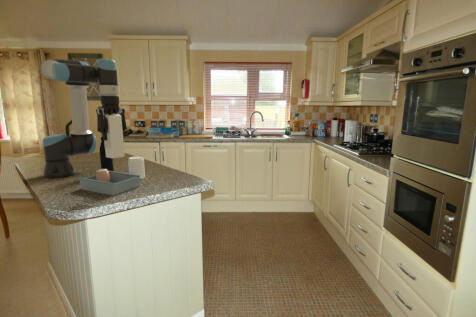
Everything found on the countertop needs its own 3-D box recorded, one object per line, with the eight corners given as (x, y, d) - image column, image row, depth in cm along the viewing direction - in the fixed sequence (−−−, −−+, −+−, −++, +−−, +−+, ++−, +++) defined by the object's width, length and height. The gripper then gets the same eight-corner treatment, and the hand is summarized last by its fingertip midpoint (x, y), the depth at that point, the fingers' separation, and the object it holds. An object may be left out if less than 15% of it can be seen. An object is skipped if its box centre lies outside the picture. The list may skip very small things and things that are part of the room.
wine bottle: (106, 176, 154) (101, 123, 148) (99, 175, 157) (94, 123, 152) (116, 174, 159) (111, 123, 154) (109, 173, 163) (105, 122, 157)
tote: (79, 190, 130) (78, 178, 129) (109, 181, 144) (108, 170, 143) (113, 197, 120) (111, 183, 119) (140, 187, 135) (139, 175, 134)
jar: (94, 186, 134) (92, 171, 132) (103, 183, 139) (101, 168, 138) (104, 187, 132) (102, 171, 130) (113, 183, 138) (111, 168, 136)
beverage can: (140, 181, 145) (138, 159, 143) (126, 180, 147) (124, 158, 145) (147, 177, 153) (146, 156, 151) (135, 176, 155) (133, 155, 152)
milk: (105, 157, 126) (100, 109, 122) (118, 155, 131) (113, 108, 127) (112, 158, 123) (107, 109, 119) (125, 156, 128) (120, 108, 123)
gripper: (95, 94, 111) (101, 150, 116) (132, 96, 129) (136, 144, 133) (83, 95, 115) (89, 148, 119) (121, 96, 132) (125, 143, 136)
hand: (114, 146), depth 126 cm, fingers closed on milk, 7 cm apart
